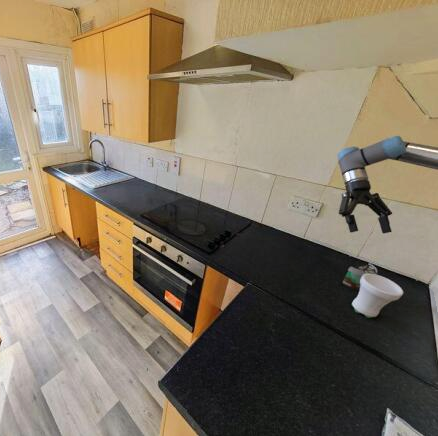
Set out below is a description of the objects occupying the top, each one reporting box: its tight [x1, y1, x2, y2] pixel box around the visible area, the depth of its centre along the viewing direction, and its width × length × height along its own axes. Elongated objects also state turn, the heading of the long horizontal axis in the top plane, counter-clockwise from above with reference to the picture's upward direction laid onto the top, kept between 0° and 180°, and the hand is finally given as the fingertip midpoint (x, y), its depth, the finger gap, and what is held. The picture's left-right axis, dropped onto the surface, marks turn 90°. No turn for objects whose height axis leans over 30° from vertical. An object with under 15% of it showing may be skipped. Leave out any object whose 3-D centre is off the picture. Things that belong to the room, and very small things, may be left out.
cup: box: [351, 274, 404, 319], centre depth 85 cm, size 11×11×14 cm
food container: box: [341, 262, 378, 291], centre depth 98 cm, size 12×6×10 cm, turn 105°
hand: (370, 232), depth 88 cm, fingers open, 13 cm apart
